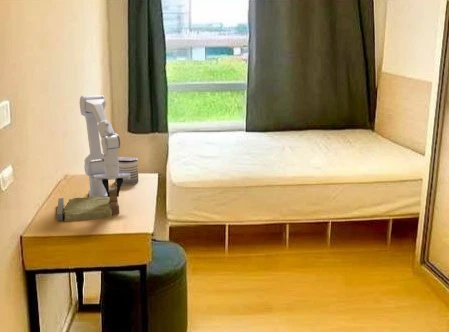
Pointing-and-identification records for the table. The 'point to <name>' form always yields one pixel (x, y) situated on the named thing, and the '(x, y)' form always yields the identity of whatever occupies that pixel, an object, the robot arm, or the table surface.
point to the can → (129, 169)
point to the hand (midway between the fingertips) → (113, 196)
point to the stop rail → (60, 209)
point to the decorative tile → (87, 208)
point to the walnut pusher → (113, 200)
